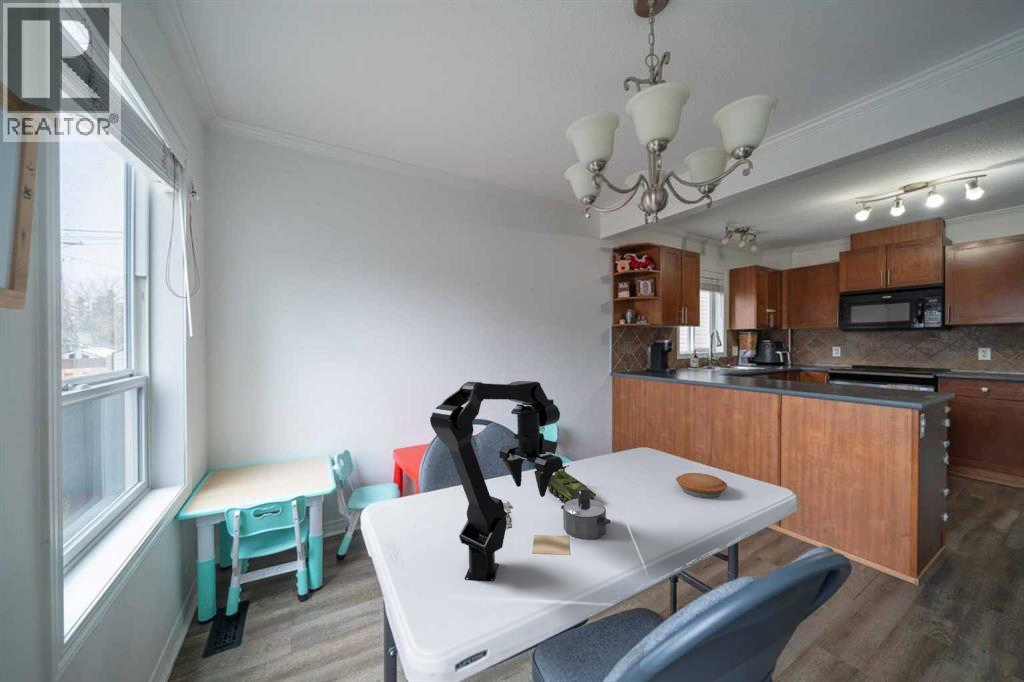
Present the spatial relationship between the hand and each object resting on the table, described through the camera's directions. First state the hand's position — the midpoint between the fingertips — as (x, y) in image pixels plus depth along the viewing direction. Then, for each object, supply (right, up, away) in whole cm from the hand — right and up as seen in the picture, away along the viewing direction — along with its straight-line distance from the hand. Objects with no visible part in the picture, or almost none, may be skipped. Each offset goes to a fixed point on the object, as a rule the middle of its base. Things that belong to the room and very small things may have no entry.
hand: (530, 491), depth 94 cm
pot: (+15, -13, +5) cm, 20 cm away
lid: (+15, -8, +5) cm, 18 cm away
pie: (+59, -13, +30) cm, 68 cm away
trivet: (+5, -13, -3) cm, 14 cm away
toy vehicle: (+15, -14, +29) cm, 35 cm away
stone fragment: (-9, -15, +15) cm, 23 cm away
